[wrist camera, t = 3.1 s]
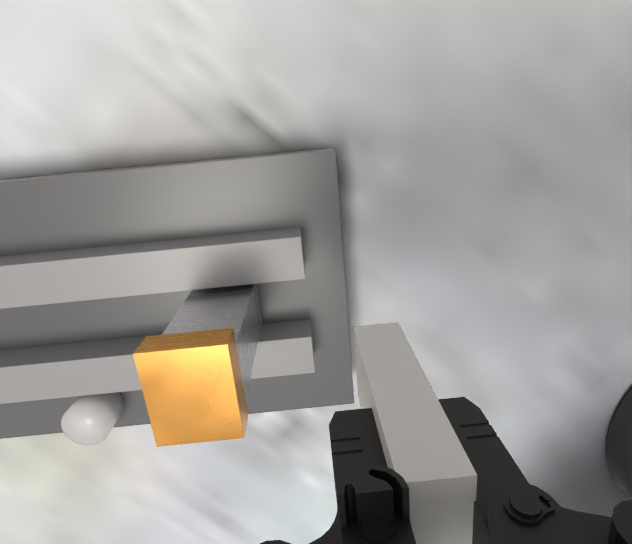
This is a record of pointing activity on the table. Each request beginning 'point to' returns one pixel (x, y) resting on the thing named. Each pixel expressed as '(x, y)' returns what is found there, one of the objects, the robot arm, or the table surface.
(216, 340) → the fader
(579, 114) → the table surface
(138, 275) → the console
